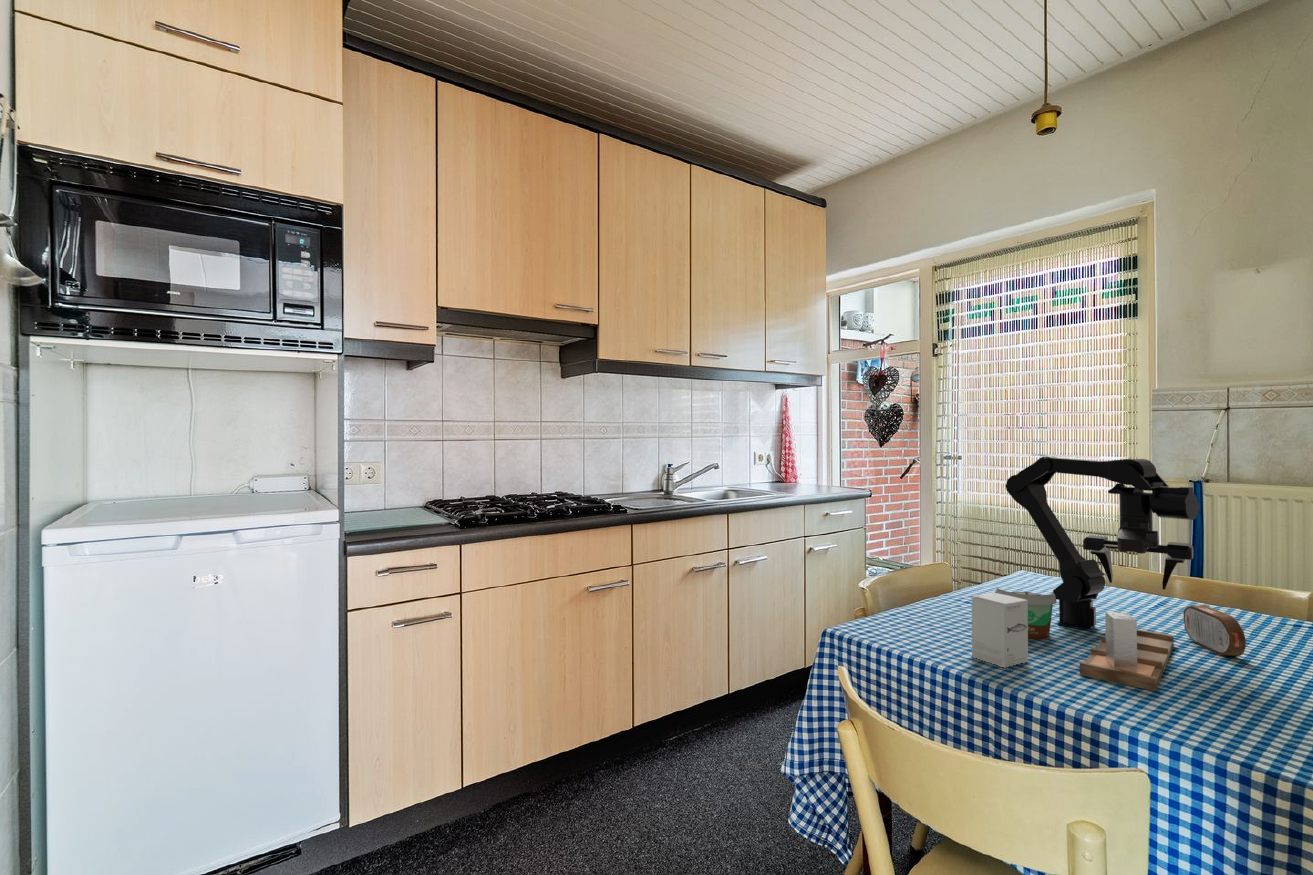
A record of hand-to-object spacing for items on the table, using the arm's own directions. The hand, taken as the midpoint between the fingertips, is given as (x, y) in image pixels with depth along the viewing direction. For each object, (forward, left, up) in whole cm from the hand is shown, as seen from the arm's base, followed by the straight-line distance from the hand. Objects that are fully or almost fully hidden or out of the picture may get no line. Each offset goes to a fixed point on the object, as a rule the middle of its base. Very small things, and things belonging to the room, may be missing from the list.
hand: (1136, 585), depth 133 cm
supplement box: (-18, -35, -12) cm, 41 cm away
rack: (0, -16, -12) cm, 20 cm away
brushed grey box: (0, -27, -11) cm, 29 cm away
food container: (-18, -14, -12) cm, 26 cm away
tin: (+12, +4, -12) cm, 18 cm away
